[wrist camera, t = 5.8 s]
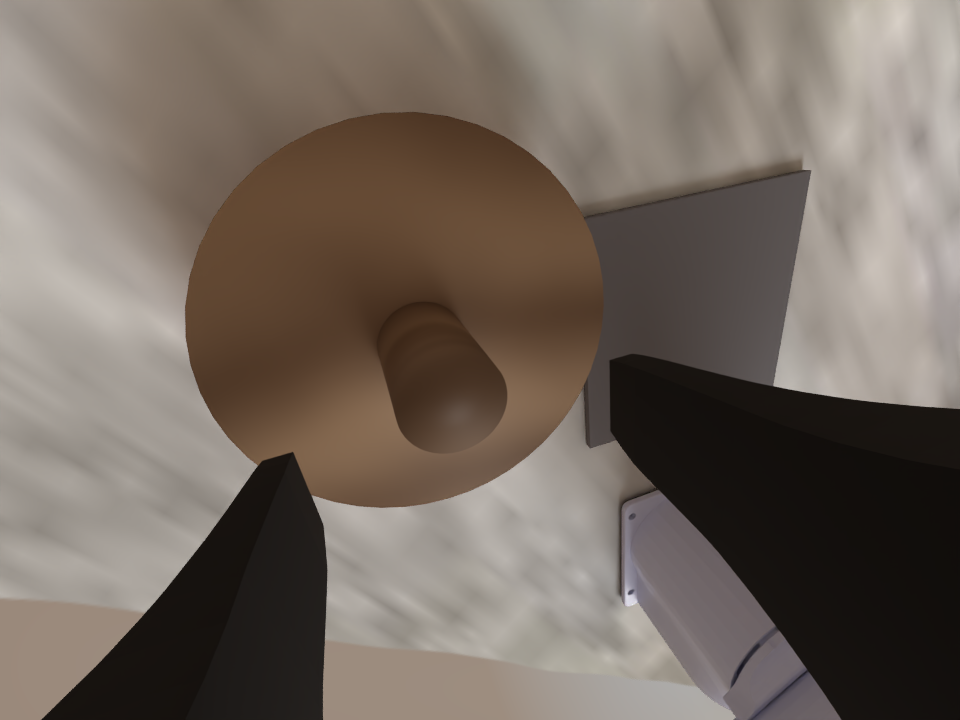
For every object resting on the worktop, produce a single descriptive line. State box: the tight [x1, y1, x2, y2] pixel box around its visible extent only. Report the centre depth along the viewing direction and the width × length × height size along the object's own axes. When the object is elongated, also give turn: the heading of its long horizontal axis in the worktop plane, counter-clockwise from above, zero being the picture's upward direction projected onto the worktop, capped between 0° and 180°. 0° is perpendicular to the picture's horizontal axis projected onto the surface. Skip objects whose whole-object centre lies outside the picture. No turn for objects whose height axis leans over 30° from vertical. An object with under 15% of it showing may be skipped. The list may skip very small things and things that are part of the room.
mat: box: [584, 170, 811, 448], centre depth 23 cm, size 12×12×1 cm
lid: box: [185, 112, 604, 508], centre depth 13 cm, size 13×13×5 cm
